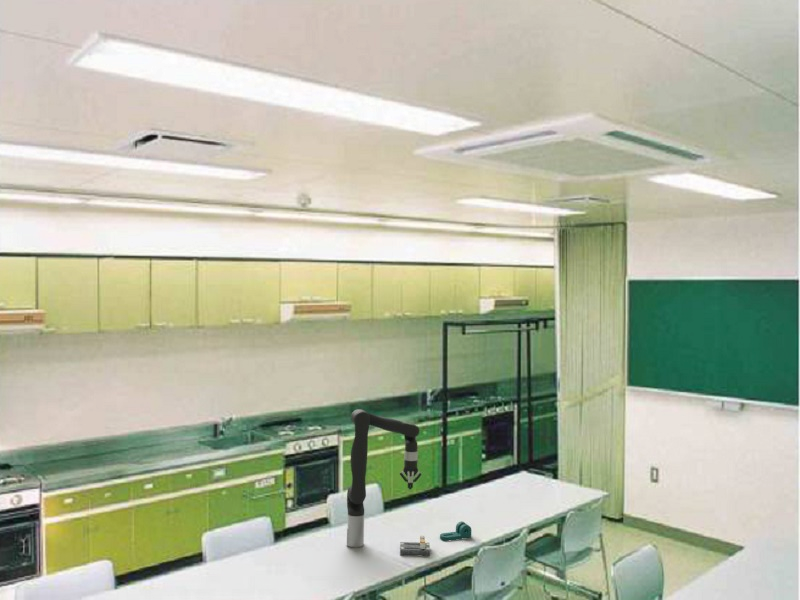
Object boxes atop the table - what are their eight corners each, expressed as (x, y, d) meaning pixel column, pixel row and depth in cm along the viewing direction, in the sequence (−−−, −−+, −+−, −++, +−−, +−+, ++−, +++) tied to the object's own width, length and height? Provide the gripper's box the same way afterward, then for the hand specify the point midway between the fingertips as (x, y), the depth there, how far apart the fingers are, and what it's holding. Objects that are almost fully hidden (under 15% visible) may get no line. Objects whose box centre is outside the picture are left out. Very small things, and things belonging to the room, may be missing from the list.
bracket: (465, 534, 405) (466, 520, 405) (471, 538, 399) (471, 524, 398) (438, 537, 398) (438, 524, 398) (442, 541, 392) (443, 528, 392)
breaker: (420, 544, 377) (420, 537, 377) (419, 542, 380) (420, 535, 380) (424, 544, 377) (424, 537, 377) (424, 542, 380) (424, 535, 380)
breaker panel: (400, 555, 370) (400, 549, 370) (400, 547, 381) (400, 541, 381) (429, 556, 370) (430, 550, 370) (429, 548, 381) (429, 542, 381)
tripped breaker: (420, 548, 371) (420, 541, 371) (420, 546, 374) (420, 539, 374) (424, 548, 371) (425, 541, 371) (424, 546, 374) (424, 539, 374)
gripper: (399, 460, 389) (398, 490, 389) (422, 460, 389) (422, 491, 389) (399, 456, 397) (398, 486, 397) (422, 457, 397) (421, 487, 397)
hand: (410, 488), depth 393 cm, fingers closed
